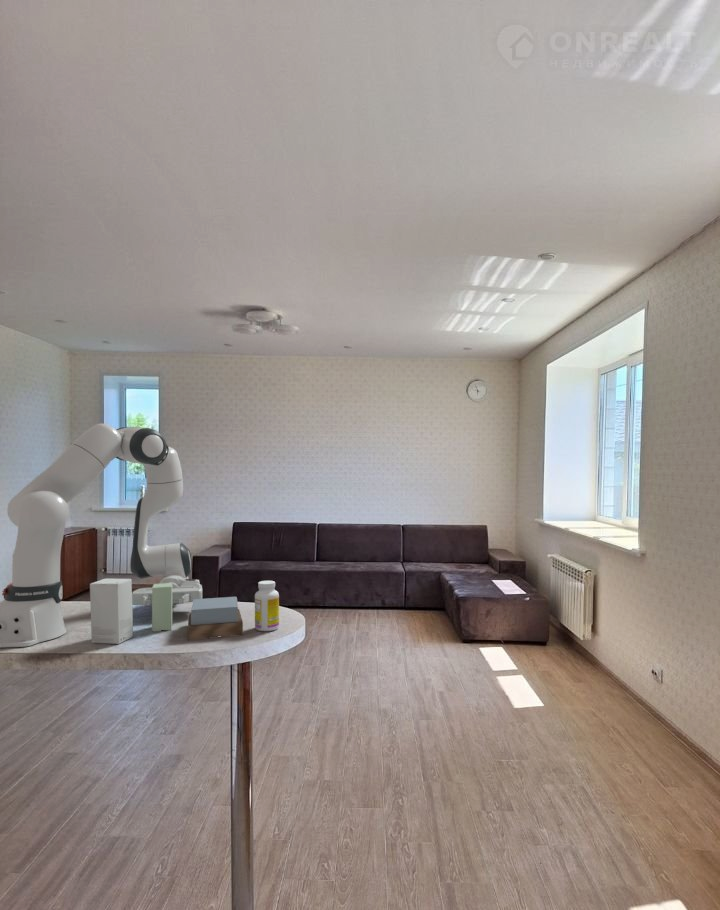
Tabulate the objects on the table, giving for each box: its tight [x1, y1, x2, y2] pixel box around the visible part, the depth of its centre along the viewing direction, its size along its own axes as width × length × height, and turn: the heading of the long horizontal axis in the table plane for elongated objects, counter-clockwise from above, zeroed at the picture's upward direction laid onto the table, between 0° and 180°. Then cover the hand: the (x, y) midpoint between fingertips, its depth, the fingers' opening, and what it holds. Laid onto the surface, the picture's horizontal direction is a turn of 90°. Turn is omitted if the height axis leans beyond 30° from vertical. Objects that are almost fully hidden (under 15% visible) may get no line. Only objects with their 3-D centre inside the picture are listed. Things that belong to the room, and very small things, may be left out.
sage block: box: [151, 583, 173, 632], centre depth 150 cm, size 5×5×12 cm
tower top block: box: [190, 596, 239, 625], centre depth 148 cm, size 12×12×4 cm
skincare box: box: [89, 578, 134, 645], centre depth 140 cm, size 8×7×16 cm
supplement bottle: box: [254, 580, 280, 632], centre depth 149 cm, size 7×7×13 cm
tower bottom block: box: [187, 608, 244, 641], centre depth 148 cm, size 14×14×4 cm
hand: (164, 601), depth 154 cm, fingers open, 8 cm apart
